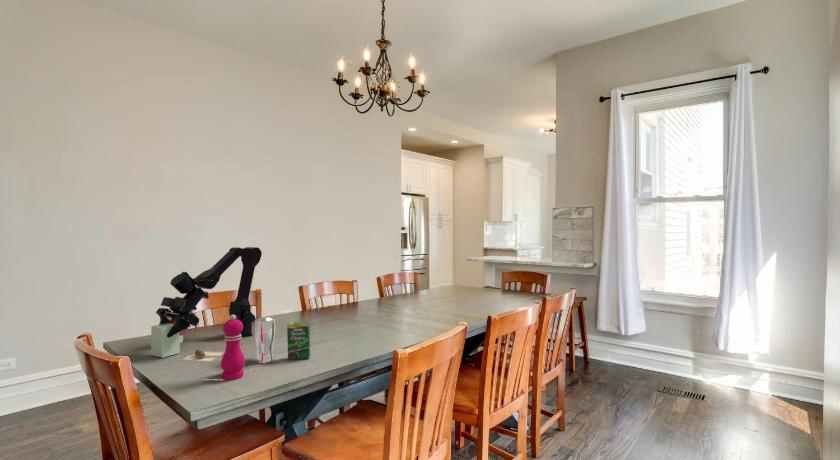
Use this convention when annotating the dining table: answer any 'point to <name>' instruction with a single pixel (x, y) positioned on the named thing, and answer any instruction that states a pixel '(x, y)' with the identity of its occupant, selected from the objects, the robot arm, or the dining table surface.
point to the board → (208, 357)
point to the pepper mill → (232, 350)
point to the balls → (199, 354)
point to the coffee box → (298, 340)
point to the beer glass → (265, 339)
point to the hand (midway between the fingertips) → (162, 335)
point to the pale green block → (164, 341)
